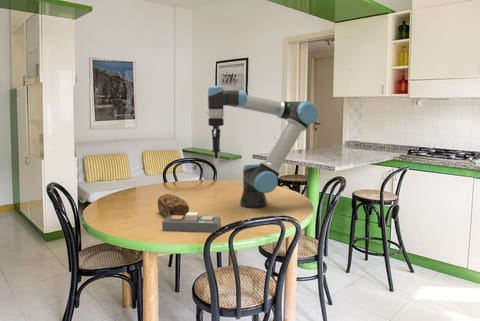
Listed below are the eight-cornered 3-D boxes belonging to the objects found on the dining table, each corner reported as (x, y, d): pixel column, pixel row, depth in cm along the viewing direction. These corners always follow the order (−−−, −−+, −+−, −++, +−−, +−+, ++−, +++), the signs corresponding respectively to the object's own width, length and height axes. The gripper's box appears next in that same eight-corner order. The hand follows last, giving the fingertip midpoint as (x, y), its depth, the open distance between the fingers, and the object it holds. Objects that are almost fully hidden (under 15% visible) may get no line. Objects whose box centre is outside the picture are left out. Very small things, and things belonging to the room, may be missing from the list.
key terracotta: (183, 222, 189) (183, 215, 188) (181, 226, 184) (181, 218, 183) (173, 222, 189) (173, 215, 189) (170, 225, 184) (170, 218, 184)
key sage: (213, 223, 188) (213, 216, 187) (211, 227, 183) (211, 219, 182) (202, 223, 188) (202, 216, 187) (200, 226, 183) (200, 219, 183)
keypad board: (220, 225, 190) (220, 216, 190) (217, 232, 180) (217, 223, 179) (168, 223, 193) (168, 214, 192) (162, 230, 182) (162, 221, 181)
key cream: (198, 219, 188) (198, 212, 187) (196, 222, 183) (196, 215, 182) (187, 219, 188) (187, 212, 188) (185, 222, 183) (185, 215, 183)
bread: (157, 213, 211) (156, 194, 210) (176, 210, 217) (176, 192, 215) (169, 222, 195) (169, 202, 194) (190, 219, 200) (189, 199, 199)
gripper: (210, 117, 207) (211, 162, 211) (206, 118, 194) (207, 166, 198) (224, 117, 207) (225, 162, 210) (221, 118, 194) (222, 166, 197)
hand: (216, 164), depth 204 cm, fingers closed
